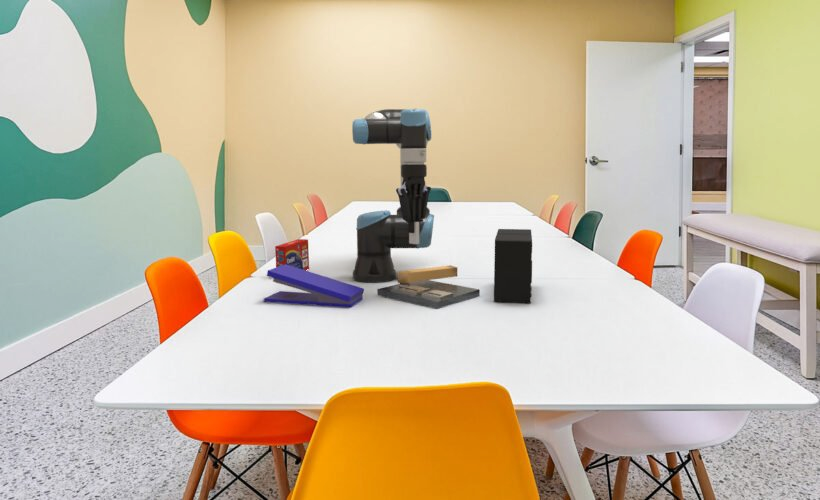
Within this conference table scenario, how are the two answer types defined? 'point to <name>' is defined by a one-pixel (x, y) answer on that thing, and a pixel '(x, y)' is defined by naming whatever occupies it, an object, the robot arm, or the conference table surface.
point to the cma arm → (426, 274)
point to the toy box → (293, 254)
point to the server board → (429, 293)
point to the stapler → (312, 288)
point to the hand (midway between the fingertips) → (414, 243)
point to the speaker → (513, 265)
